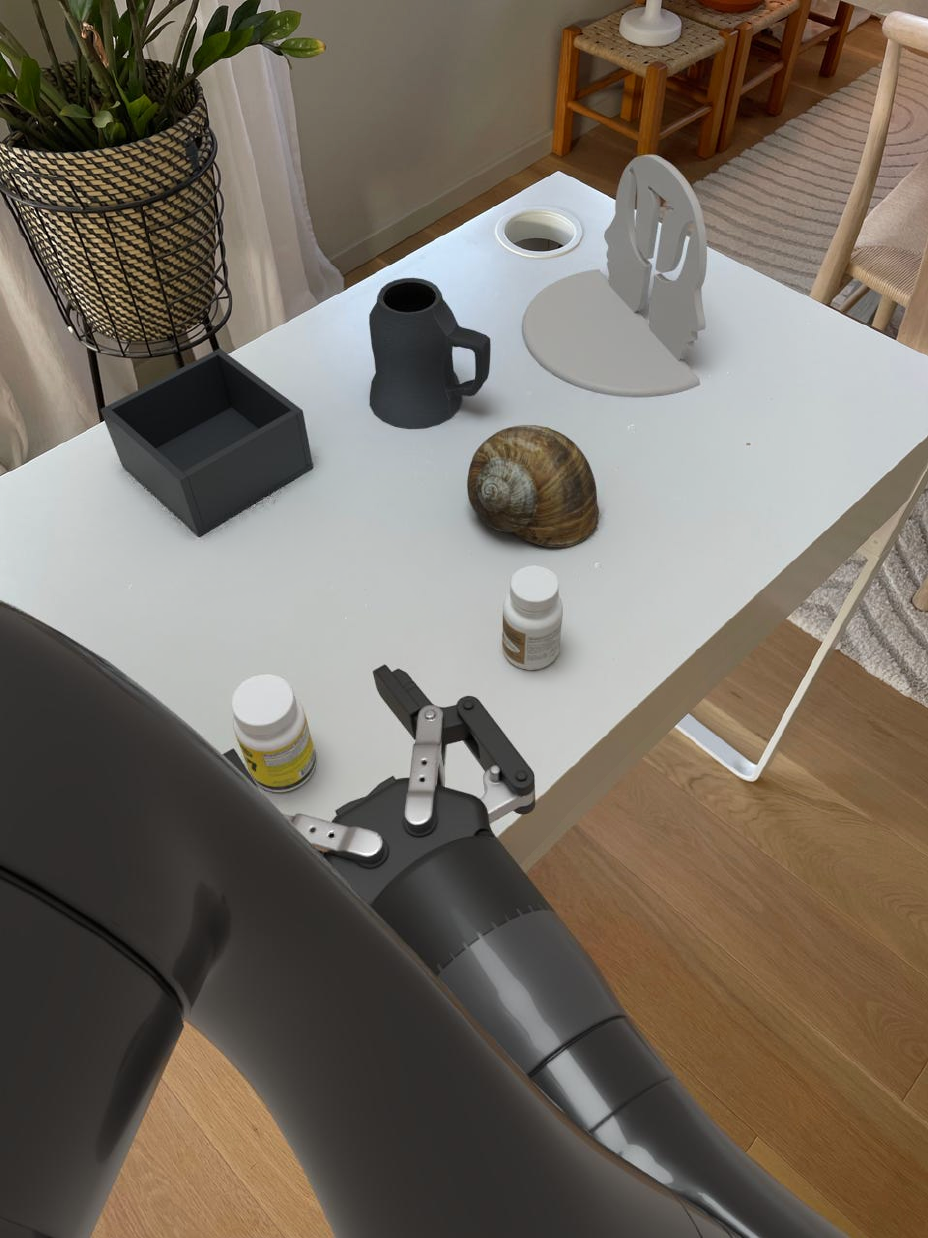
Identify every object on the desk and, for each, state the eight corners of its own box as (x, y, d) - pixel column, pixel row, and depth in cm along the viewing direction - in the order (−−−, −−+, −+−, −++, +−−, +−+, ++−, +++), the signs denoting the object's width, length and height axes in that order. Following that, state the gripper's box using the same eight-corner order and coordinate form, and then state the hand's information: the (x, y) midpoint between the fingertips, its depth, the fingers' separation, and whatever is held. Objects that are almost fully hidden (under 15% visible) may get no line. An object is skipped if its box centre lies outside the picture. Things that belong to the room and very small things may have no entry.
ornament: (702, 385, 93) (739, 222, 80) (581, 420, 90) (599, 257, 77) (598, 271, 106) (614, 114, 93) (488, 298, 103) (490, 140, 90)
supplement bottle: (243, 747, 68) (218, 680, 62) (307, 727, 69) (289, 658, 63) (258, 803, 66) (233, 739, 59) (324, 781, 67) (307, 716, 60)
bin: (199, 537, 81) (179, 480, 76) (122, 466, 87) (99, 409, 82) (313, 467, 87) (303, 409, 81) (234, 405, 92) (219, 347, 87)
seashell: (448, 529, 82) (446, 458, 75) (496, 462, 87) (497, 391, 80) (570, 573, 78) (578, 503, 72) (612, 501, 83) (623, 429, 77)
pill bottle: (494, 634, 74) (495, 568, 68) (547, 620, 75) (552, 554, 69) (512, 678, 72) (515, 613, 66) (567, 663, 73) (575, 598, 67)
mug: (352, 414, 91) (339, 311, 82) (394, 360, 96) (386, 257, 88) (467, 446, 88) (466, 343, 79) (504, 389, 93) (507, 286, 84)
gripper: (631, 842, 38) (417, 603, 48) (320, 1058, 34) (151, 747, 43) (622, 920, 44) (432, 693, 53) (354, 1114, 39) (198, 829, 49)
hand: (307, 717), depth 48 cm, fingers open, 8 cm apart
